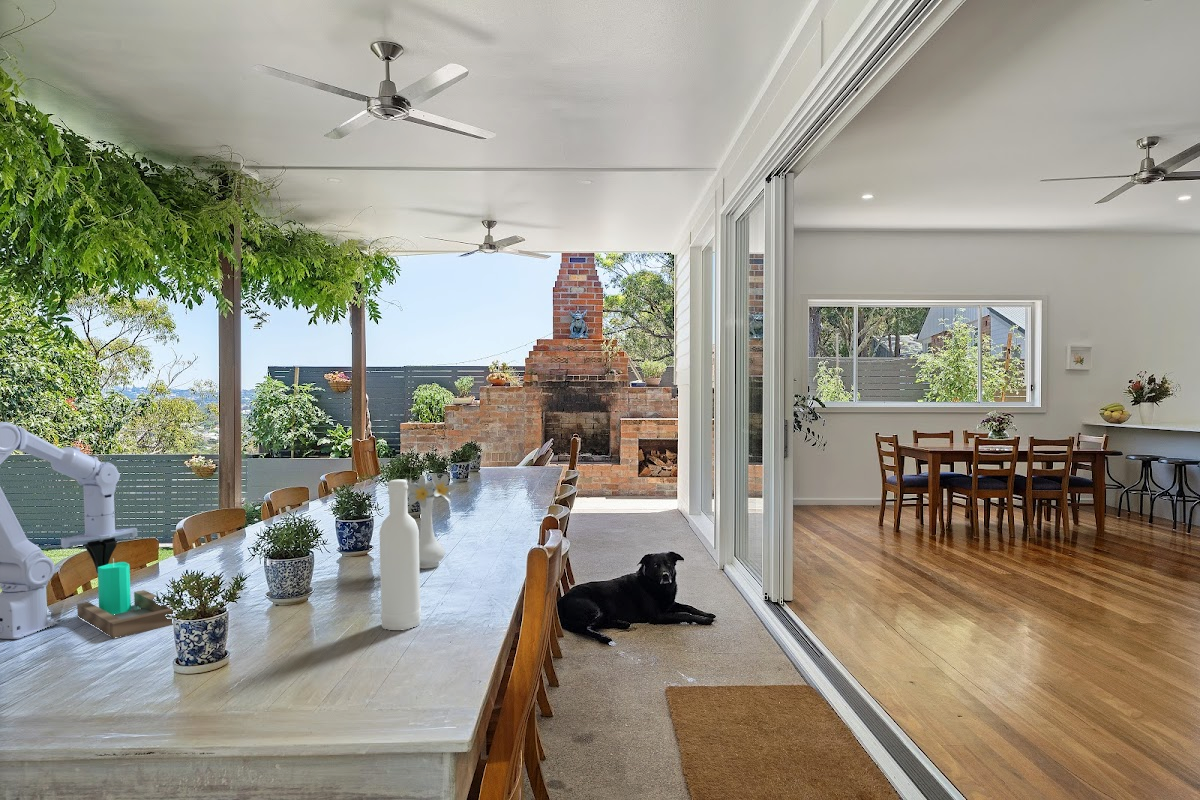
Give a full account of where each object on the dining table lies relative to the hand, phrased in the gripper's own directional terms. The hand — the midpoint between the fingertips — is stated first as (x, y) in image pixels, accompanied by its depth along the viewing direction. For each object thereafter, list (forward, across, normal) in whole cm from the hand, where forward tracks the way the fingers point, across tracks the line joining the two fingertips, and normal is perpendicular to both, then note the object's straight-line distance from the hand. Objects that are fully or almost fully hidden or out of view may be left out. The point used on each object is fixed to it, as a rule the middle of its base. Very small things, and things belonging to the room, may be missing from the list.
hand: (101, 573), depth 168 cm
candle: (+8, 0, -8) cm, 11 cm away
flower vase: (+8, +66, -32) cm, 74 cm away
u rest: (+7, 0, -17) cm, 19 cm away
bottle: (+8, +33, -67) cm, 75 cm away
